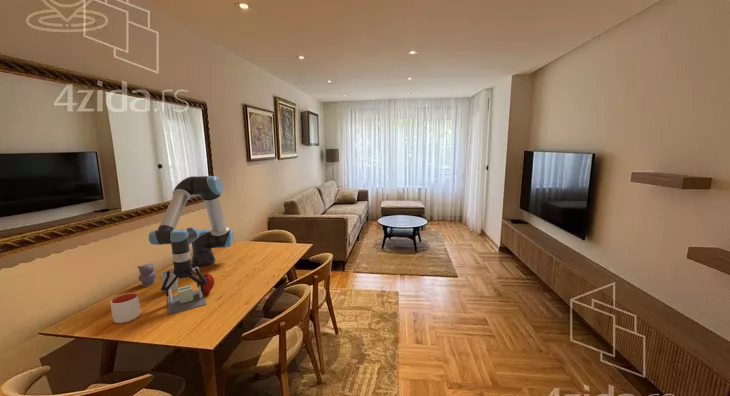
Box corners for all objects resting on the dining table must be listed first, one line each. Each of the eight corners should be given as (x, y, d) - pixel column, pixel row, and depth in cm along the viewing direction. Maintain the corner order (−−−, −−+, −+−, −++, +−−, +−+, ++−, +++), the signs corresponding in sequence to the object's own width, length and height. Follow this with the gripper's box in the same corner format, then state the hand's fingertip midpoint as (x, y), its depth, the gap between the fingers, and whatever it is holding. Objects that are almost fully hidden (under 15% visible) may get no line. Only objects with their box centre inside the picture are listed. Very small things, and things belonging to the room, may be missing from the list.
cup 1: (123, 313, 141) (120, 293, 140) (145, 312, 142) (143, 292, 141) (107, 325, 131) (104, 304, 130) (131, 323, 132) (128, 303, 131)
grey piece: (167, 298, 156) (166, 288, 155) (201, 289, 165) (200, 280, 164) (168, 314, 139) (167, 304, 138) (206, 304, 148) (205, 294, 147)
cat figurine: (141, 288, 167) (138, 268, 166) (138, 284, 173) (135, 265, 171) (158, 283, 174) (156, 264, 172) (155, 279, 179) (153, 261, 177)
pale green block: (179, 299, 152) (177, 287, 151) (192, 295, 156) (191, 283, 155) (179, 303, 148) (178, 291, 147) (193, 300, 151) (192, 288, 150)
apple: (199, 291, 163) (197, 272, 161) (216, 288, 166) (214, 270, 164) (196, 298, 155) (194, 278, 154) (214, 295, 158) (212, 276, 157)
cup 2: (183, 287, 168) (181, 270, 167) (169, 293, 160) (167, 276, 159) (172, 285, 171) (171, 269, 169) (159, 291, 163) (157, 274, 162)
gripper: (150, 266, 141) (155, 307, 144) (208, 259, 149) (212, 298, 152) (155, 260, 148) (160, 300, 151) (210, 254, 156) (214, 292, 159)
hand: (186, 299), depth 152 cm, fingers open, 13 cm apart
